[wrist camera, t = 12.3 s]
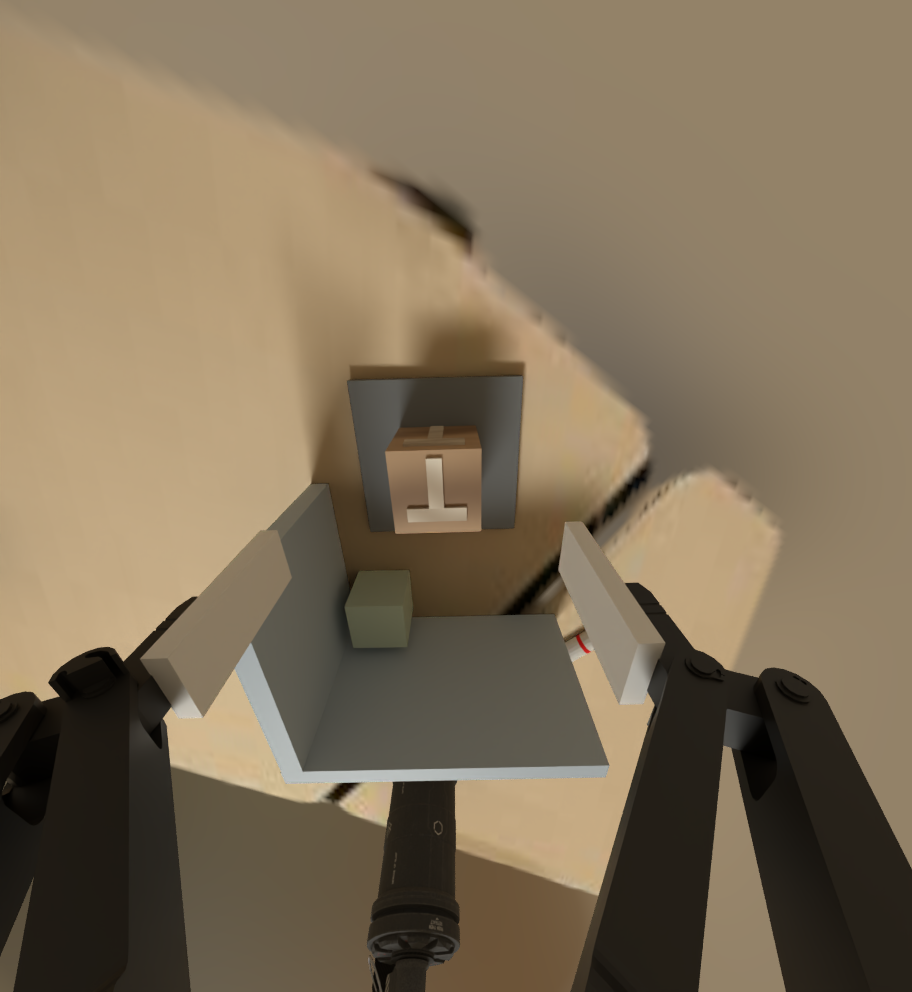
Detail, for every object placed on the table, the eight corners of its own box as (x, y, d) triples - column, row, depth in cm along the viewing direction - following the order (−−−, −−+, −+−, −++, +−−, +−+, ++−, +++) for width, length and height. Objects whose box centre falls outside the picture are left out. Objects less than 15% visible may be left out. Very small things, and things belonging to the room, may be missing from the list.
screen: (310, 483, 29) (201, 596, 17) (573, 477, 29) (664, 586, 16) (343, 629, 37) (285, 783, 24) (553, 624, 36) (605, 777, 24)
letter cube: (399, 425, 26) (384, 449, 21) (475, 422, 26) (481, 446, 21) (406, 496, 29) (395, 535, 23) (476, 494, 29) (481, 532, 23)
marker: (517, 679, 41) (520, 695, 39) (506, 671, 40) (509, 687, 38) (628, 615, 36) (637, 630, 35) (619, 605, 36) (627, 620, 34)
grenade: (470, 755, 47) (480, 1015, 29) (430, 790, 51) (418, 1038, 33) (413, 735, 45) (385, 1002, 27) (376, 773, 49) (331, 1028, 31)
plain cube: (359, 570, 33) (344, 606, 29) (409, 569, 33) (402, 605, 29) (366, 608, 36) (353, 648, 31) (413, 607, 35) (407, 647, 31)
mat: (349, 379, 26) (347, 380, 25) (521, 375, 25) (523, 376, 25) (372, 527, 31) (370, 531, 30) (512, 523, 31) (514, 528, 30)
